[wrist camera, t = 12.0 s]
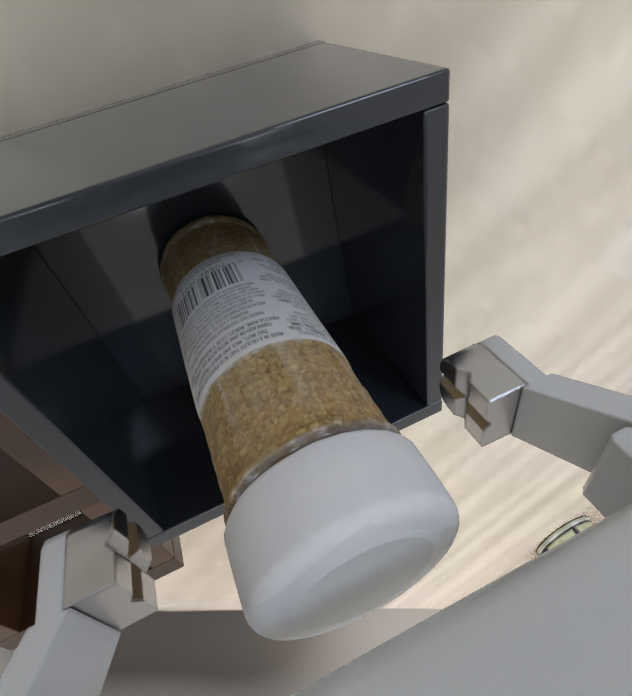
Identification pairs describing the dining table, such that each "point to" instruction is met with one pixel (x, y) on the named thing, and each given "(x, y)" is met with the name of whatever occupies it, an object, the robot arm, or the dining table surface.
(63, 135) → the dark grey open box
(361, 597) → the spice jar
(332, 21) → the dining table surface
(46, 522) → the rack
